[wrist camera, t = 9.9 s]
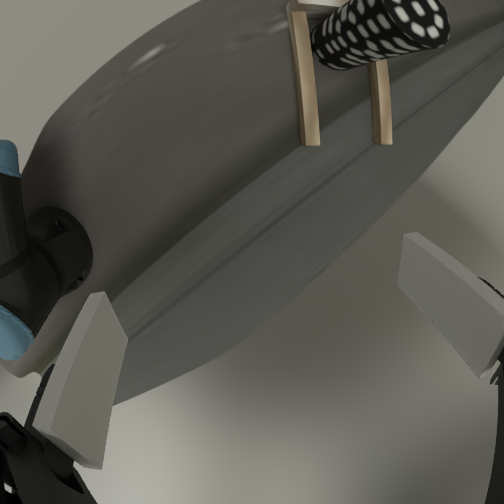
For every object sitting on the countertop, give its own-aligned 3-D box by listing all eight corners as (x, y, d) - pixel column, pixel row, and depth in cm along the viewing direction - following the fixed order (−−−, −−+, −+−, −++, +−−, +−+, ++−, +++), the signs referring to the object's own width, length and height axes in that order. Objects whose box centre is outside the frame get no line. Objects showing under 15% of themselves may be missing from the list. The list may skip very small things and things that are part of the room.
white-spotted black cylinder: (370, 57, 33) (461, 37, 15) (331, 79, 34) (416, 59, 16) (339, 15, 29) (416, -32, 11) (298, 34, 31) (361, -20, 13)
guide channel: (301, 144, 38) (314, 148, 33) (285, 6, 28) (296, -9, 23) (383, 142, 39) (405, 147, 34) (371, 16, 29) (390, 6, 24)
